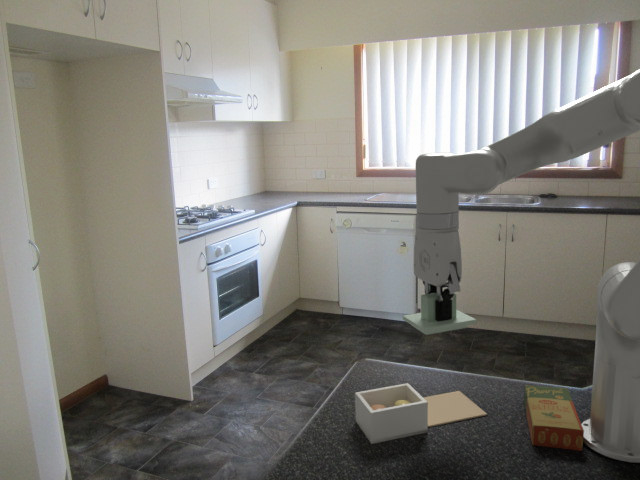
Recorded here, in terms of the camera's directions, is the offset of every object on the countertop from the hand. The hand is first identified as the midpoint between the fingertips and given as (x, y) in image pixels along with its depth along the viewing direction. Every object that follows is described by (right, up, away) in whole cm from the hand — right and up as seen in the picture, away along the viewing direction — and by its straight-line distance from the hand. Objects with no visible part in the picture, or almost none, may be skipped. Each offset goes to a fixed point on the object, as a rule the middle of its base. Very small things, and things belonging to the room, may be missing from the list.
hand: (439, 316), depth 100 cm
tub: (-9, -21, -1) cm, 22 cm away
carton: (+20, -20, -2) cm, 29 cm away
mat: (+2, -19, +5) cm, 20 cm away
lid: (0, -1, 0) cm, 1 cm away
